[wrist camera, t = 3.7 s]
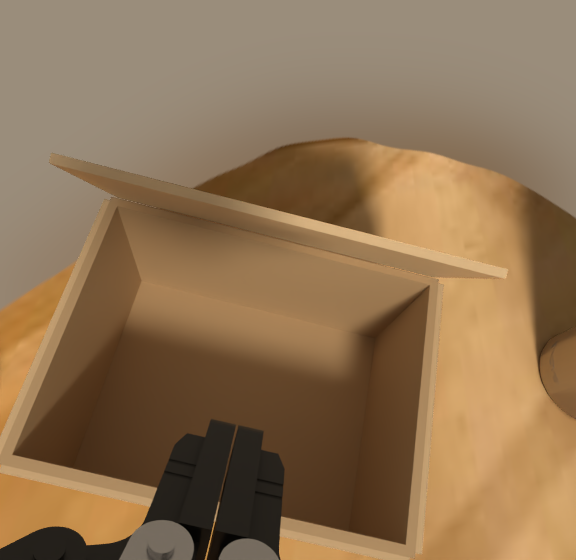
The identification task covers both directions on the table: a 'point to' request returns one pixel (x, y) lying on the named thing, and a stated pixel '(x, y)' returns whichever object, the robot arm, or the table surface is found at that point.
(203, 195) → the carton flap
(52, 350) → the carton
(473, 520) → the table surface
